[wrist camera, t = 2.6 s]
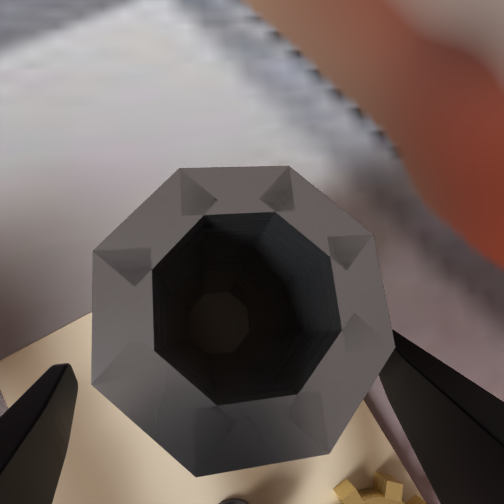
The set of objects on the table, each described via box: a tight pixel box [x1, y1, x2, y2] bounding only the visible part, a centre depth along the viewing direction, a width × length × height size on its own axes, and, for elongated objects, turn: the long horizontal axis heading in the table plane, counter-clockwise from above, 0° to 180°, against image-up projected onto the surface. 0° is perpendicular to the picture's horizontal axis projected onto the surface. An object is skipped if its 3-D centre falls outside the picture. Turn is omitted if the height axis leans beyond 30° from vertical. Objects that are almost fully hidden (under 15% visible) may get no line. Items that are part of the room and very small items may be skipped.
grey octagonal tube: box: [91, 166, 395, 477], centre depth 12 cm, size 7×7×13 cm
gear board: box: [0, 292, 424, 504], centre depth 17 cm, size 16×25×1 cm, turn 31°
